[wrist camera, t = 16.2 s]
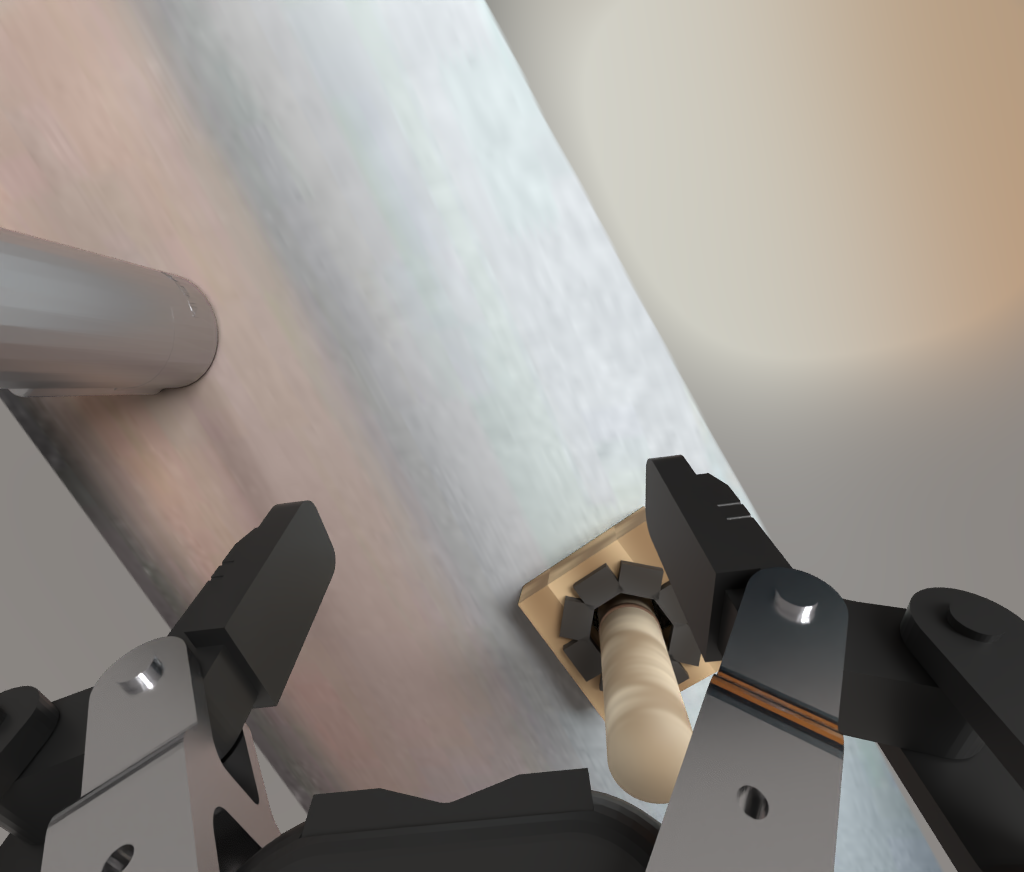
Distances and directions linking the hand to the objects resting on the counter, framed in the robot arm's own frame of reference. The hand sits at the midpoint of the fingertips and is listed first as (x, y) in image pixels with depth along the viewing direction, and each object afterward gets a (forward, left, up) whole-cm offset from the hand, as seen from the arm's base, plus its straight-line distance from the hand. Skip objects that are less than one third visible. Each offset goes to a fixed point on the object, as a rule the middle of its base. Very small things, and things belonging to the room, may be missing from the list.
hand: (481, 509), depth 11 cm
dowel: (-4, -14, -22) cm, 27 cm away
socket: (-3, -14, -22) cm, 27 cm away
